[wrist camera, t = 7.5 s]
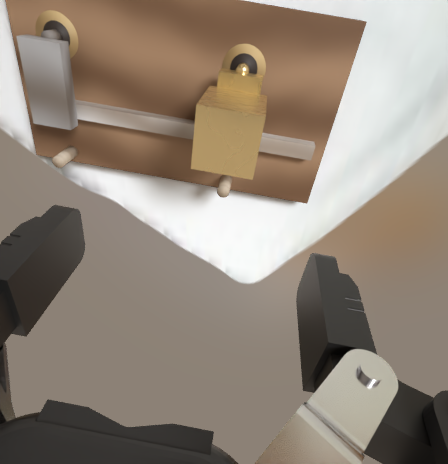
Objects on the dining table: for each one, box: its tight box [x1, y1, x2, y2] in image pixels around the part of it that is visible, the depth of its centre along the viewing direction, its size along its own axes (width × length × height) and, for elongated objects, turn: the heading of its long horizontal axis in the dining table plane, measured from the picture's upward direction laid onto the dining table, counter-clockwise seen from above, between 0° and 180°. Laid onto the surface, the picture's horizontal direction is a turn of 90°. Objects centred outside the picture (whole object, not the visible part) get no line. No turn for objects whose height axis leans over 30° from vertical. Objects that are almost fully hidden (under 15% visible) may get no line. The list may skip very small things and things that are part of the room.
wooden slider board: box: [5, 0, 366, 203], centre depth 26 cm, size 14×25×4 cm, turn 82°
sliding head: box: [191, 63, 267, 180], centre depth 23 cm, size 6×4×7 cm, turn 172°
